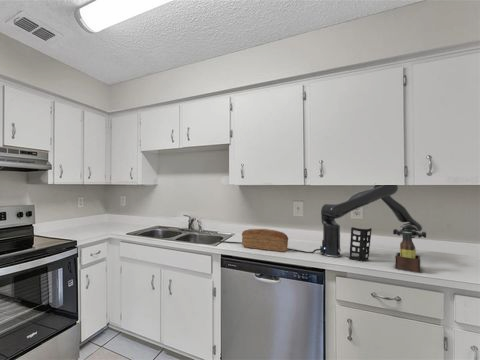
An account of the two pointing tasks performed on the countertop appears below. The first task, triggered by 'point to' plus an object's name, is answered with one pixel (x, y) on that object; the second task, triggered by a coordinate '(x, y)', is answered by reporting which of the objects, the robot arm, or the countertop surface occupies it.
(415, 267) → the wooden sleeve
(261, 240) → the bread
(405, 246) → the sauce bottle
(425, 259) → the countertop surface
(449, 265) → the countertop surface
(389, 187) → the robot arm
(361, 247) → the holder
